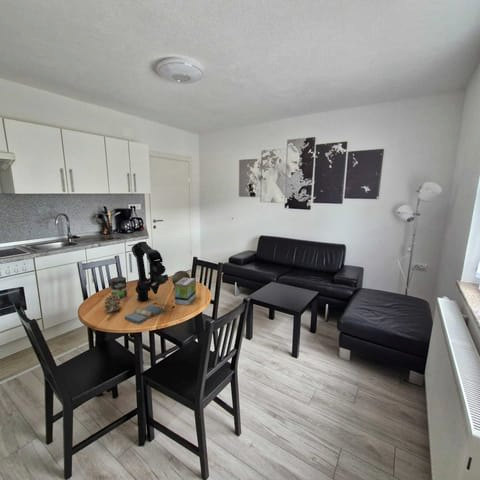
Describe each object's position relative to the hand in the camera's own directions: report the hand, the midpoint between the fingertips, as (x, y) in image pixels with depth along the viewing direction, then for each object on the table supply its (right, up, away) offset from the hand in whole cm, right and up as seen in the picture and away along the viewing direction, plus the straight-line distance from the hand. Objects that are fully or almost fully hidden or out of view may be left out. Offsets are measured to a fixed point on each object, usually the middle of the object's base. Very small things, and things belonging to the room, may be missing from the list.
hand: (155, 294), depth 164 cm
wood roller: (-5, -10, -7) cm, 14 cm away
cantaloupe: (+8, -5, +38) cm, 39 cm away
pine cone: (-26, -11, -3) cm, 29 cm away
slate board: (-4, -12, -6) cm, 14 cm away
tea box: (+16, -8, +17) cm, 25 cm away
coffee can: (-33, -7, +21) cm, 40 cm away
